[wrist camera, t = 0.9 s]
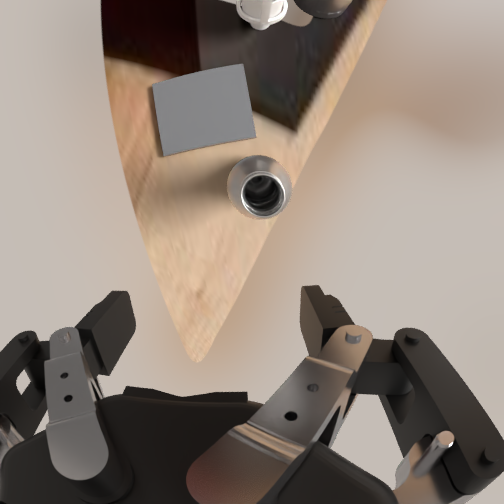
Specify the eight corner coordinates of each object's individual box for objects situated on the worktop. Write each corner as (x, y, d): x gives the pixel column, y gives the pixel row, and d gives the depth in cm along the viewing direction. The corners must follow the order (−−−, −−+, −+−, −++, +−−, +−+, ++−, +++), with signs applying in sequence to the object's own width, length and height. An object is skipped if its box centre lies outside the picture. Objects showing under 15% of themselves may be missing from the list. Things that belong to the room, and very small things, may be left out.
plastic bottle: (255, 207, 42) (262, 251, 23) (224, 175, 40) (204, 193, 21) (286, 179, 40) (320, 200, 22) (256, 146, 39) (264, 137, 20)
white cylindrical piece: (284, 39, 32) (301, -8, 18) (239, 40, 32) (235, -8, 18) (280, 7, 30) (292, -44, 16) (236, 8, 30) (232, -44, 16)
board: (154, 86, 35) (152, 84, 34) (243, 65, 34) (242, 63, 33) (165, 156, 39) (163, 156, 38) (256, 137, 38) (256, 137, 37)
